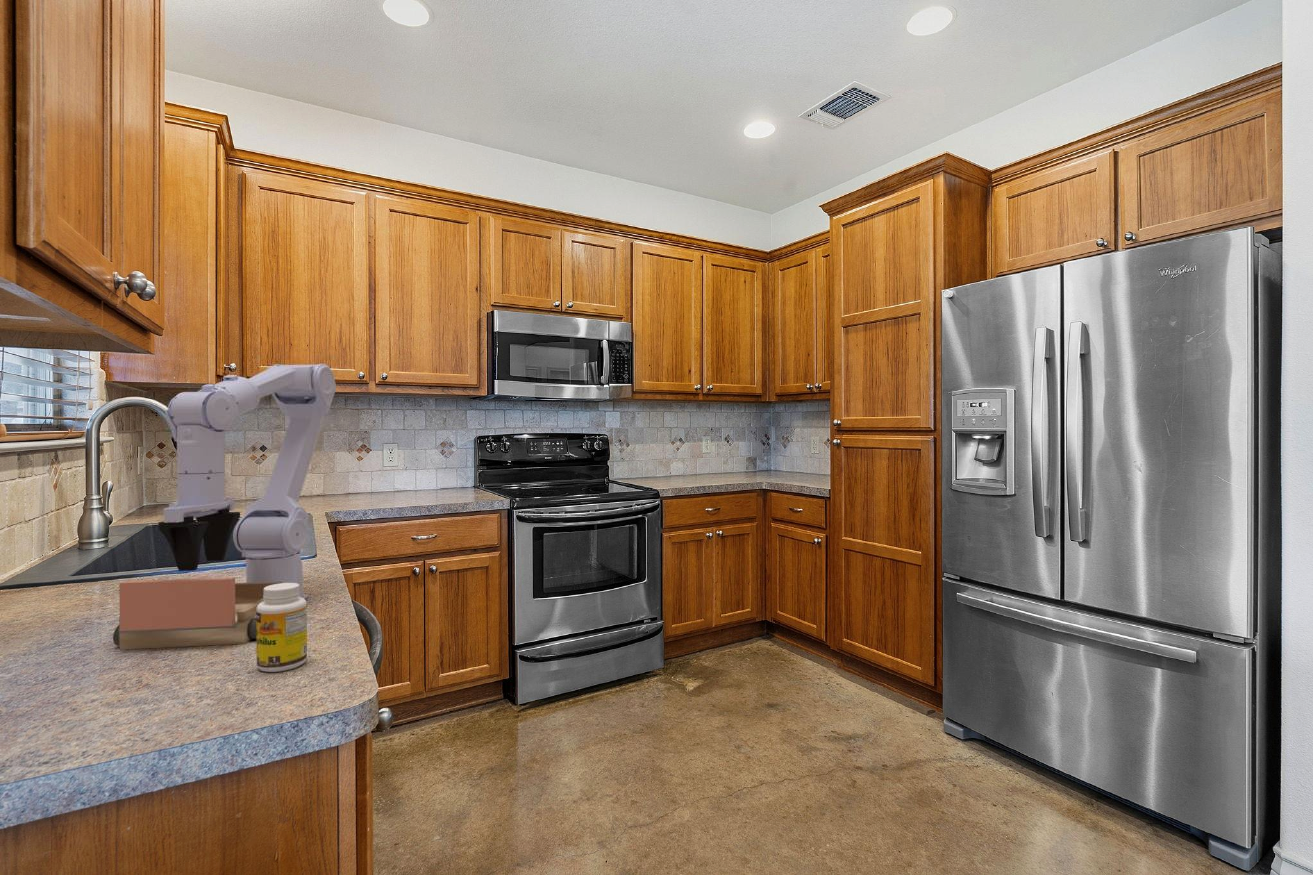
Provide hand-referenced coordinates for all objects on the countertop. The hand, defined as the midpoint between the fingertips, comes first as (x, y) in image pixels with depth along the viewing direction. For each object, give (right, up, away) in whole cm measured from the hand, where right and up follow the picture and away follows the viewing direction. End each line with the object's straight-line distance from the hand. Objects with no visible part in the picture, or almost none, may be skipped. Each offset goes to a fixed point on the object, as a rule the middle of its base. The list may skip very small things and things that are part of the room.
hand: (202, 565), depth 93 cm
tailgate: (+1, -7, -6) cm, 9 cm away
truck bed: (0, -10, +1) cm, 10 cm away
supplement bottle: (+19, -11, -12) cm, 25 cm away
